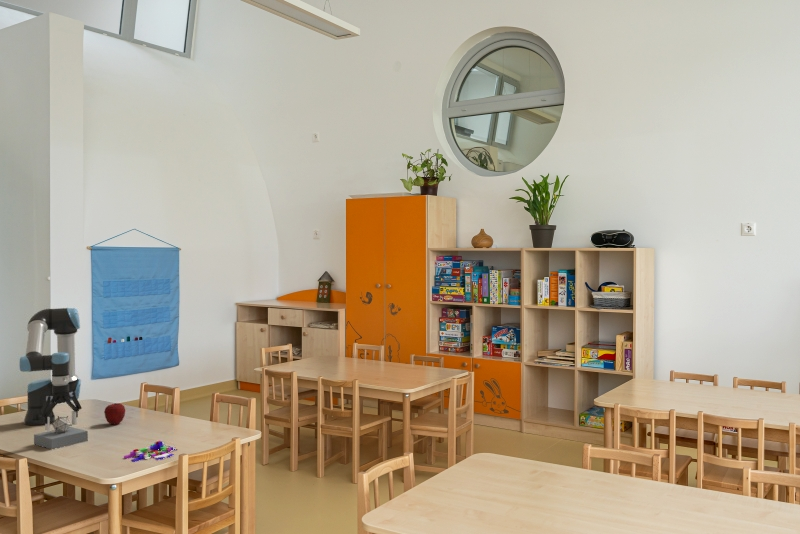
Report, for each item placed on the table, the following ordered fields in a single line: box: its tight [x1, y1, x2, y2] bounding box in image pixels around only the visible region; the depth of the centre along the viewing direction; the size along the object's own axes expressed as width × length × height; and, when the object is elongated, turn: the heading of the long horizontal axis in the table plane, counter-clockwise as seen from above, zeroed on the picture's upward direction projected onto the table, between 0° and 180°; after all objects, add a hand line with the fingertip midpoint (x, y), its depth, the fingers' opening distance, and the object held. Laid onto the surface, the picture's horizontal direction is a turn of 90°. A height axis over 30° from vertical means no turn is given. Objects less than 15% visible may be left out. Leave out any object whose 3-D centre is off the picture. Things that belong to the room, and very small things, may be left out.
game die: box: [50, 415, 73, 433], centre depth 322 cm, size 9×8×10 cm
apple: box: [104, 402, 126, 425], centre depth 360 cm, size 11×11×12 cm
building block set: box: [123, 440, 175, 463], centre depth 302 cm, size 25×20×4 cm
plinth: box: [33, 426, 89, 450], centre depth 322 cm, size 16×18×5 cm
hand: (61, 427), depth 322 cm, fingers open, 13 cm apart
